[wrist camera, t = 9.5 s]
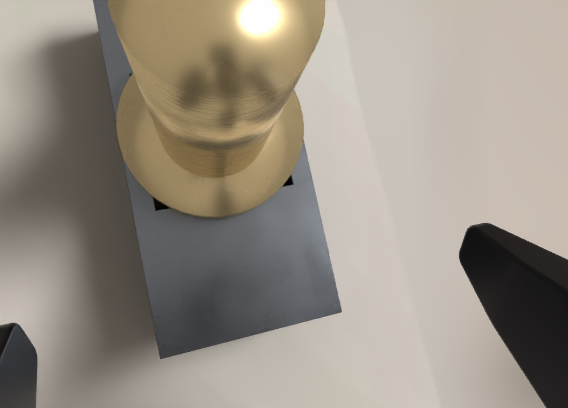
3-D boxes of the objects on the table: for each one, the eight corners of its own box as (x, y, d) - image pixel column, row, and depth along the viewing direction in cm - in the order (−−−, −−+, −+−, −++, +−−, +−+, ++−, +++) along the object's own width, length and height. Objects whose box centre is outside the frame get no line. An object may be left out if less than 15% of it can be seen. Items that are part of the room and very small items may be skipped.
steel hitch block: (316, 301, 21) (341, 312, 17) (169, 338, 19) (160, 359, 15) (252, 10, 22) (262, -43, 18) (110, 25, 20) (87, -29, 17)
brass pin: (275, 232, 21) (385, 194, 8) (129, 218, 20) (-13, 149, 7) (286, 98, 22) (400, -127, 9) (147, 78, 20) (52, -213, 8)
